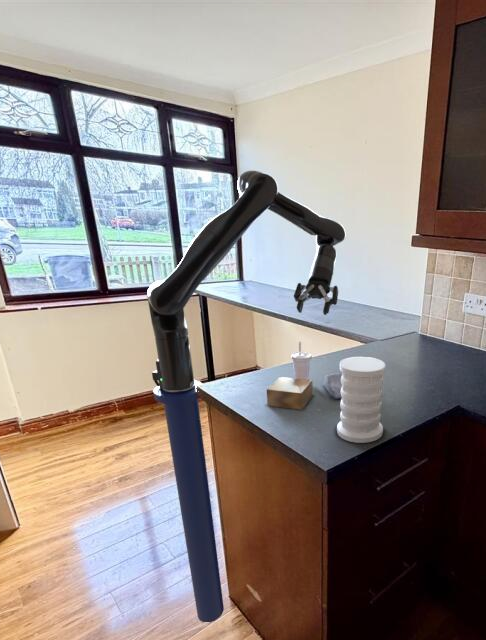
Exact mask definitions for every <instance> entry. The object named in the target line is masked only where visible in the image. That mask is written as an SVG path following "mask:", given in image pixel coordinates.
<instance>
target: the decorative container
mask: <svg viewBox="0 0 486 640" xmlns="http://www.w3.org/2000/svg"><path fill="white" fill-rule="evenodd" d="M386 366H387V365H386V362H385V361H384V360H381V359H378V358H375V357H372V356H371V357H370V356H350V357H346V358H343V359H341V360H340V361H339V370H340V372H341V374H342V376H341V383H342V388H341V391H340V392H341V396H342V399H340V402H339V406H340V409H341V411H340V414H339V419H340V421H339V422H338V423H337V425H336V433H337V435H338V437H340V438H341V439H343V440H345V441H347V442H350V443H357V444H365V443H371V442H375V441H377V440H379V439H380V438H382V436H383V433H384V426H383V424H382V423H381V422H380V421H381V418H382V414H381V409H382V406H383V405H382V400H381V399H382V398H383V397H382V396H383V389H382V386H383V384H384V377H383V374H384V373H385V372H386V369H387V368H386Z"/></svg>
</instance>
